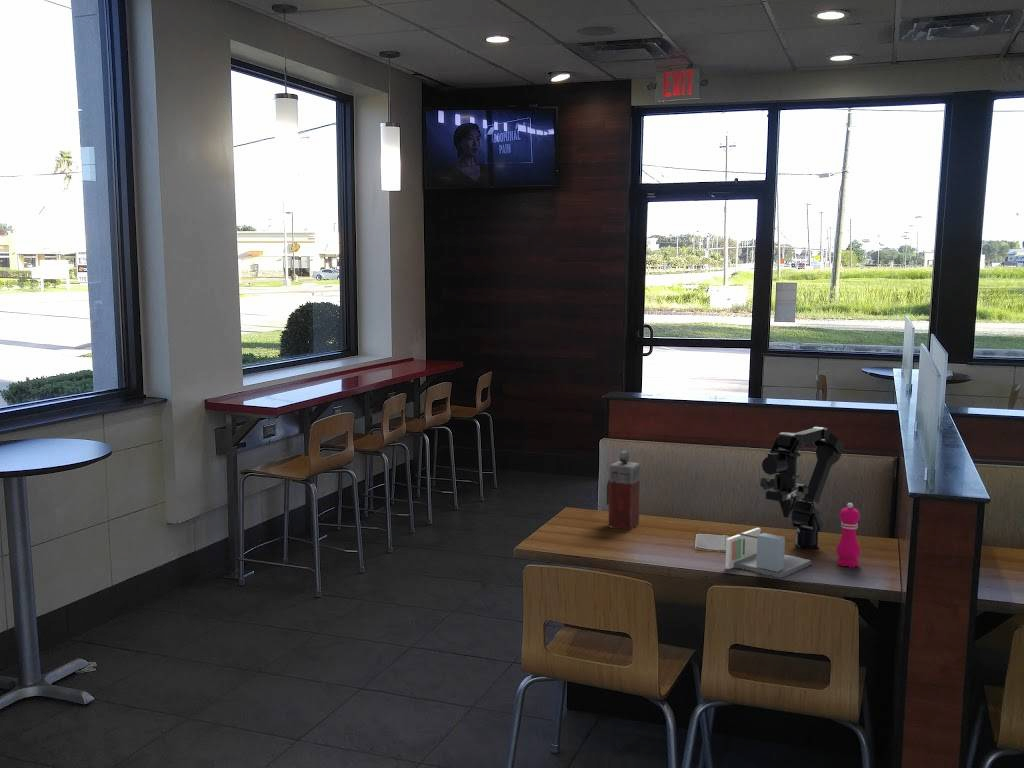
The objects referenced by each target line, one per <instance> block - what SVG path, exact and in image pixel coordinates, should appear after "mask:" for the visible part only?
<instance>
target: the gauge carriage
mask: <svg viewBox="0 0 1024 768" xmlns="http://www.w3.org/2000/svg"><path fill="white" fill-rule="evenodd" d="M743 533H744V532H738V534H739V535H743V536H748V537H753V538H757V567H759V568H763V569H767V570H771V571H776V572H778V571H781V570H783V569H784V554H785V547H786V545H785V543H786V537H785V536H781V535H776V534H771V533H767V532H763V533H760V534H759V535H757V536H753V535H748V534H743Z"/></svg>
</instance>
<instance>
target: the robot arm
mask: <svg viewBox="0 0 1024 768" xmlns="http://www.w3.org/2000/svg"><path fill="white" fill-rule="evenodd" d="M811 443H812V444H813V446H814V447H815V455H816V456H815V457H816V463H815V465H814V468H813V472H812V474H811V476H810V480H809V481H808V485H807V484H804V483H800V482H798V483H797V478H800V474H799V473H798V471H797V470H798V458H799V457H801V456H802V455H801V454H800V452H799V451H800V450H802V449H803V447H804V445H807V444H811ZM844 450H845V445H844V444H843V442H842V440H841V439H840V438H839V437H838V436H837V435H836V434H833V433H832V432H831V431H830V429H829V428H828V427H822V426H813V427H812V428H809V429H805V430H801V431H798V432H787V431H785V432H779V433H778V435H777V436H776V437H775V440H774V442H773V443H772V446H771V448H770V450H769V452H768V453H767V457H765V458H764V459H763V461H762V462H761V467H762V470H763V471H764V473H765V474H766V475H769V476H771V475H774V477H772V478H769V477H768V476H765V477H761V478H760V482H759V483H760V484H759V486H760V487H761V488H762V490H763V491H765V492H764V499H765V500H770V501H774V502H776V501H777V502H778V503H779V506H780V508H781V512H782V515H783V518H785V519H788V518H789V516H790V518H791V522H792V527H793V528H796V531H795V534H794V535H795V536H794V537H795V538H794V545H796V546H797V547H798V548H799V549H820V546H819V532H821V531H823V528H824V523H823V521H822V519H821V518H820V507H819V501H820V498H821V496H822V492H823V490H824V487H825V485H826V482H827V479H828V477H829V474H830V471H831V468H832V466H833V465H834V464H836V463H837V462H838V461H839V460H840V459H841V456H842V455H843V452H844ZM797 492H799V493H801V494H802V495H803V498H801V499H800V497H801V496H798V495H797V494H796V493H797Z"/></svg>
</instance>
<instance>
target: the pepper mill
mask: <svg viewBox="0 0 1024 768" xmlns="http://www.w3.org/2000/svg"><path fill="white" fill-rule="evenodd" d="M846 506H847V507H844V508H842V509H841V510H840V512H839V519H840V520H841V522H840V523H841V525H840V527H841V530H842V532H841V536H840V538H839V541H838V543H837V545H836V549H835V550H836V554H837V555H838V557H837V561H836V562H837V565H838V564H839V565H838V566H840V565H842V566H841V567H843V566H849V567H848V568H856V567H855V566H857V567H859V562H860V561H859V559H858V558H859V557H860V556H861V553H862V552H861V547H860V543H859V542H858V538H857V529H858V527H859V526H858V525H859V523H858V522H859V520H860V519H861V515H860V512H859V510H858V509H856V508H854V504H853V503H852V502H848V503H847V504H846Z"/></svg>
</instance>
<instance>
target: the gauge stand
mask: <svg viewBox="0 0 1024 768" xmlns="http://www.w3.org/2000/svg"><path fill="white" fill-rule="evenodd" d="M761 529H762V528H760V527H756V528H752V529H750V530H747V531H744V532H742V533H743V534H748V535H753V536H757V535H759V534H762V533H761ZM725 540H726V542H725V569H726V570H731V569H733V568H736V569H739V568H741V569H740V570H744V569H745V570H744V571H748V570H750V571H749V572H752V571H754V572H753V573H756V572H759V573H758V574H760V573H762V574H761V575H764V574H768V575H767V576H769V575H772V576H771V577H773V576H775V577H774V578H777V577H778V578H777V579H782V577H783V578H785V577H787V576H790V575H792V574H794V573H796V572H798V570H799V571H800V570H803V569H805V568H807V567H810V566H811V565H812V560H810V559H807V558H802V557H798V556H793V555H788V554H785V553H784V569H783V570H781V571H778V572H776V571H771V570H767V569H763V568H759V567H757V538H753V537H748V536H743V535H739V533H738V534H736V535H733V536H729V537H727V538H726V539H725ZM809 565H810V566H809ZM791 573H792V574H791ZM789 574H790V575H789Z"/></svg>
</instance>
